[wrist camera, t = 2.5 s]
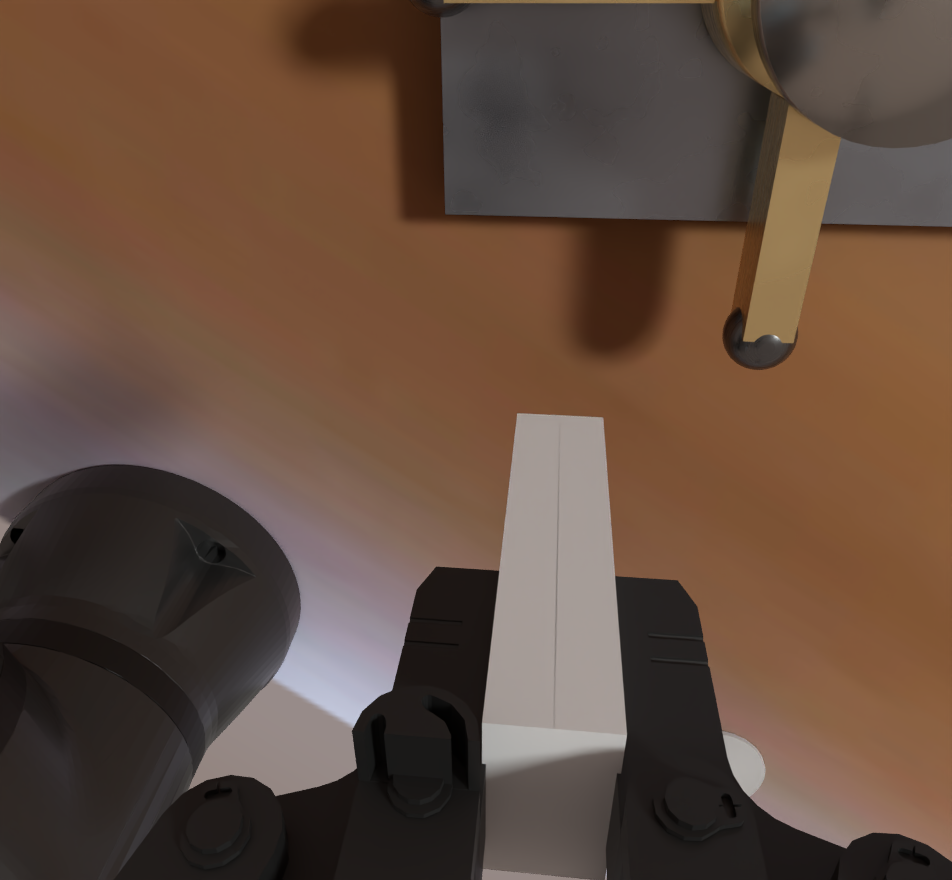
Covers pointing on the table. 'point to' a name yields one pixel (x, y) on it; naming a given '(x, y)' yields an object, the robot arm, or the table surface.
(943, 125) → the capstan
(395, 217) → the table surface
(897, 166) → the stand
